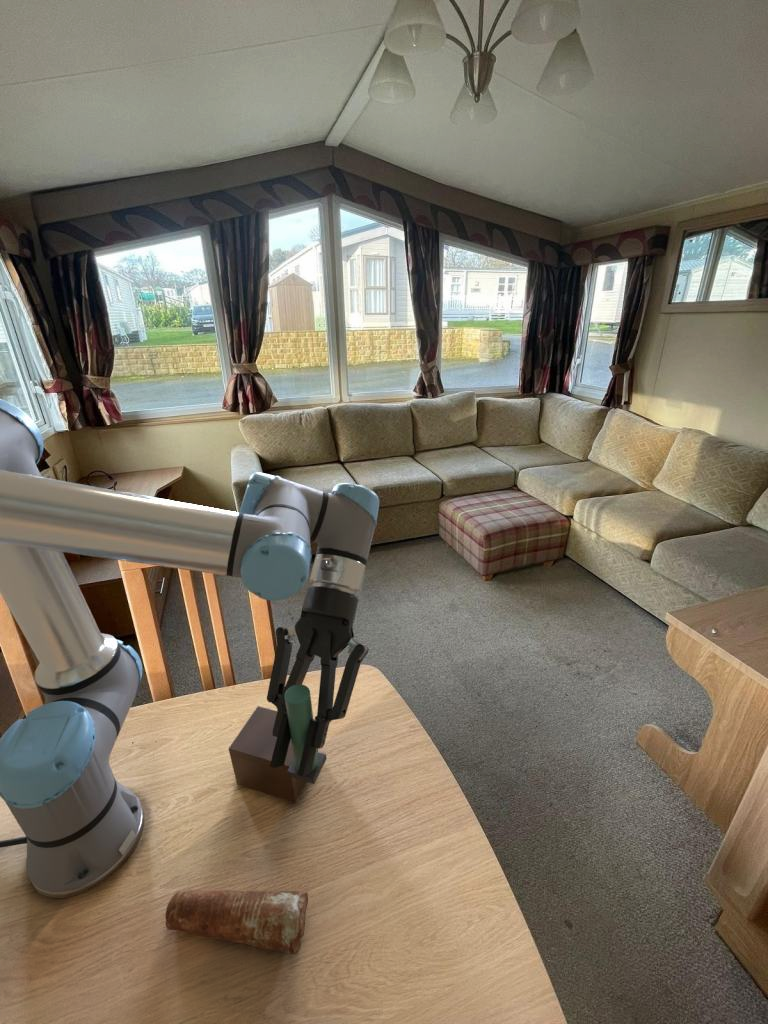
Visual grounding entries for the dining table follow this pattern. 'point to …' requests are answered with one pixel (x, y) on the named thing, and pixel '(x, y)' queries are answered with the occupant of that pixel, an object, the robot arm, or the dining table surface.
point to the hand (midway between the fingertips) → (290, 769)
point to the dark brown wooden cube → (263, 758)
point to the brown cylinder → (242, 916)
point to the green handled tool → (301, 730)
